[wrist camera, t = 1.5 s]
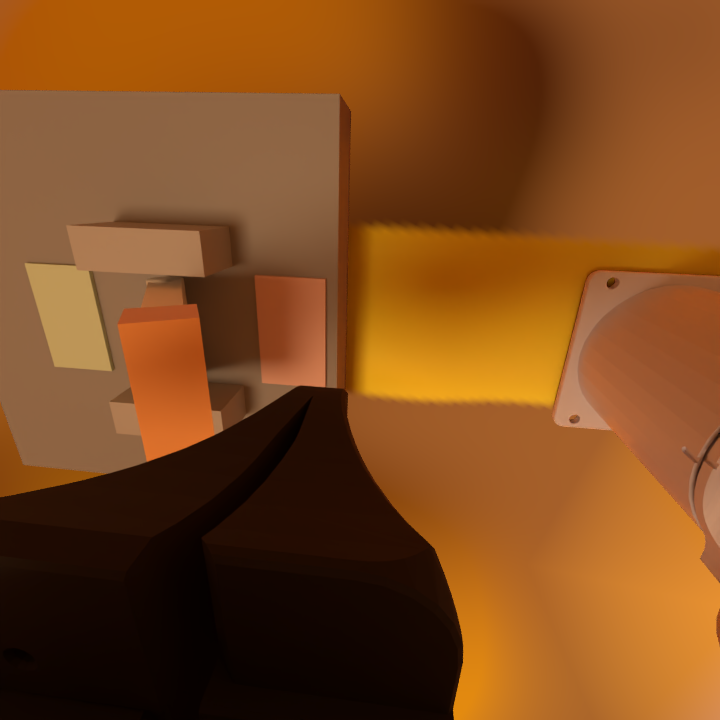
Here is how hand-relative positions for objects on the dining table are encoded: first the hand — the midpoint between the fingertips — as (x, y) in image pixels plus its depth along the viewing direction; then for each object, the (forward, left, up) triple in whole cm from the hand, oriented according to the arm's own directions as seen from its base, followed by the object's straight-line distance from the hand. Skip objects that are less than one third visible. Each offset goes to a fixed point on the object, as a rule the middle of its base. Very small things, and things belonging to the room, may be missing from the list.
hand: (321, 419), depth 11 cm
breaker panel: (+10, 0, -10) cm, 14 cm away
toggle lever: (+8, 0, -6) cm, 10 cm away
